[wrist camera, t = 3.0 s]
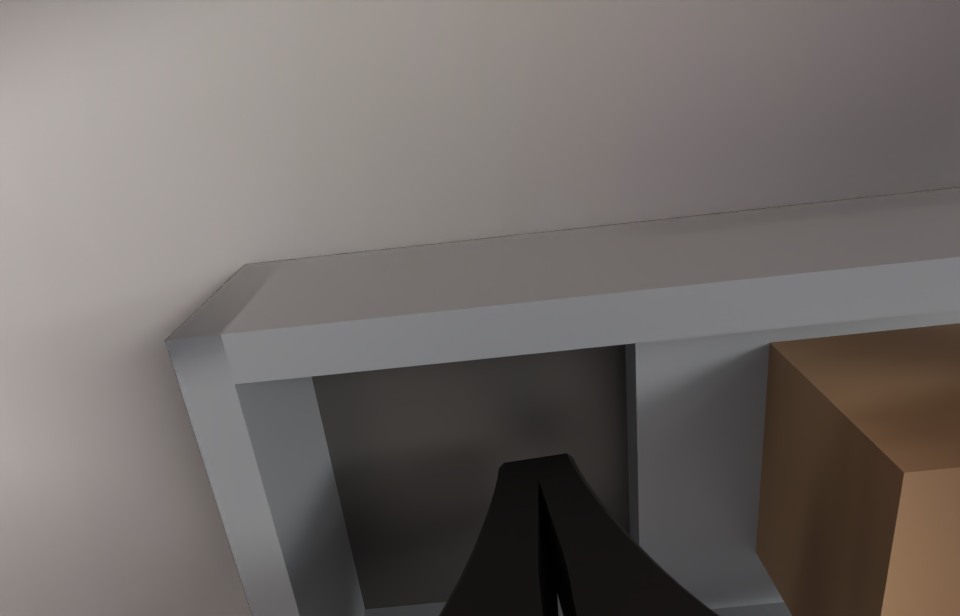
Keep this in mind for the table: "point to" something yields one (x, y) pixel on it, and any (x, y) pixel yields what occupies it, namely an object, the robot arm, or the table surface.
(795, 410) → the walnut block
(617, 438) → the trap channel
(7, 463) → the table surface
